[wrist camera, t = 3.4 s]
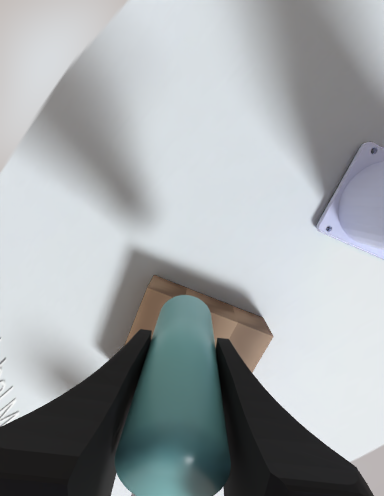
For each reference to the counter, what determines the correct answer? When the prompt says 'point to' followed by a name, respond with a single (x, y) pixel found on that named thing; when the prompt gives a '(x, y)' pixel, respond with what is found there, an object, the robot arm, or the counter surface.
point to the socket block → (223, 317)
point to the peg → (177, 410)
